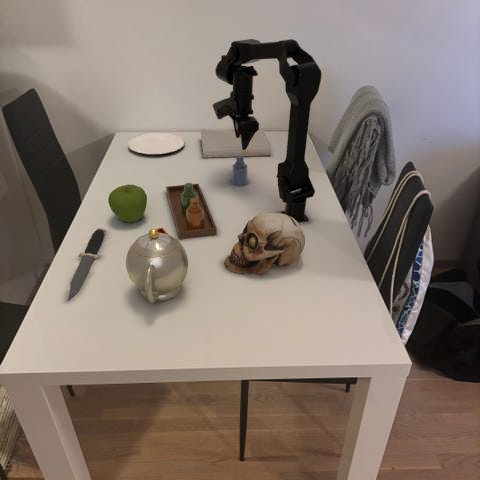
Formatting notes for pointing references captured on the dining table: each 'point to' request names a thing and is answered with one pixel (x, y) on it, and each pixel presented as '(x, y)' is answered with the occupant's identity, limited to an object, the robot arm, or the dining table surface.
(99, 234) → the knife
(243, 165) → the blue bottle
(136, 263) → the teapot
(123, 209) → the apple
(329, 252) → the dining table surface
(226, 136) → the book
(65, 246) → the dining table surface
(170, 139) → the plate
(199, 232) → the tray
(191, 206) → the amber bottle
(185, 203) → the green bottle
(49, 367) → the dining table surface
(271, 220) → the skull
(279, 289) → the dining table surface
